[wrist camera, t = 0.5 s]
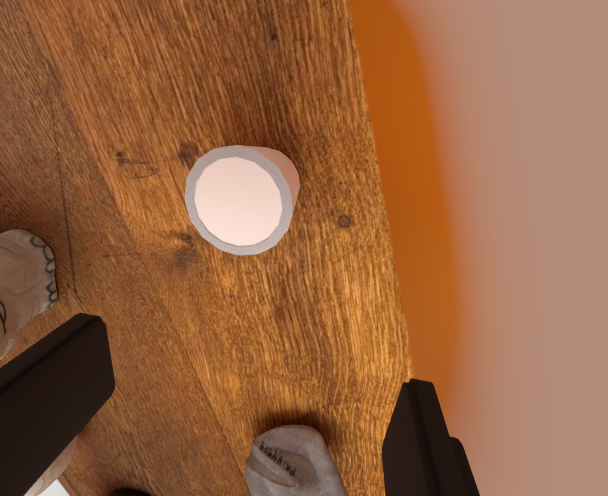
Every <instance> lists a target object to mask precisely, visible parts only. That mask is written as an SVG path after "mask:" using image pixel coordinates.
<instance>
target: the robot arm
mask: <svg viewBox="0 0 608 496" xmlns="http://www.w3.org/2000/svg"><path fill="white" fill-rule="evenodd" d="M114 389H115V380H114V373H113V367H112V361H111V354H110V348H109V342H108V336H107V329H106V325H105V323H104V322H103V321H102V318H101V317H99V316H94V315H89V314H84V313H79V314H77V315H75V316H73V317H72V318H71V319H69V320H68V321H66V322H65V323H63V324H62V325H61V326H59V327H58V328H56V329H55V330H54V331H52V332H51V333H49V334H48V335H46V336H45V337H44V338H42V339H41V340H39V341H38V342H37V343H35V344H34V345H32V346H31V347H30V348H28V349H27V350H25V351H24V352H22V353H21V354H20V355H18V356H17V357H15V358H14V359H13V360H11V361H10V362H8V363H7V364H5V365H4V366H3V367H1V368H0V496H24V495H25V494H26V493H27V492H28V491H29V489H30V488H31V487H32V486H33V485H34V484H35V483H36V481H37V480H38V479H39V478H40V477H41V476H42V475H43V473H44V472H45V471H46V470H47V469H48V468H49V467H50V465H51V464H52V463H53V462H54V461H55V460H56V458H57V457H58V456H59V455H60V454H61V453H62V452H63V450H64V449H65V448H66V447H67V446H68V445H69V444H70V442H71V441H72V440H73V439H74V438H75V437H76V436H77V434H78V433H79V432H80V431H81V430H82V429H83V428H84V426H85V425H86V424H87V423H88V422H89V421H90V419H91V418H92V417H93V416H94V415H95V414H96V413H97V411H98V410H99V409H100V408H101V407H102V406H103V405H104V403H105V402H106V401H107V400H108V399H109V398H110V396H111V395H112V393H113V391H114ZM382 461H383V472H384V483H385V494H386V496H480V494H479V491H478V489H477V486H476V483H475V480H474V477H473V474H472V471H471V468H470V465H469V462H468V460H467V456H466V454H465V450H464V448H463V446H462V443H461V442H460V441H459V439H457V438H454V437H450V436H449V433H448V430H447V427H446V424H445V420H444V417H443V414H442V410H441V407H440V404H439V401H438V398H437V394H436V391H435V388H434V385H433V383H431V382H427V381H422V380H417V379H410V381H409V383H406V382H404V383H403V384H402V387H401V390H400V393H399V396H398V399H397V402H396V405H395V408H394V411H393V414H392V417H391V420H390V423H389V426H388V429H387V432H386V435H385V438H384V441H383V446H382Z"/></svg>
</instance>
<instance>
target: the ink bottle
mask: <svg viewBox="0 0 608 496" xmlns="http://www.w3.org/2000/svg"><path fill="white" fill-rule="evenodd" d="M109 496H145V495H143V494H141V493H137V492H134V491H128V490H118V491H114V492H112V493H111V494H110V495H109Z"/></svg>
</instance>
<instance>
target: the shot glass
mask: <svg viewBox="0 0 608 496" xmlns="http://www.w3.org/2000/svg"><path fill="white" fill-rule="evenodd" d="M299 189H300V182H299V175H298V172H297V170H296V168H295V166H294V164H293V163H292V161H291V160H290V159H289V158H288V157H286V156H285V155H284V154H283V153H281V152H280V151H277V150H274V149H270V148H267V147H254V146H241V145H234V146H227V147H220V148H214V149H213V150H211V151H210V152H208V153H207V154H205V155H204V156H202V157H201V158H199V159H198V160H197V161H196V163H195V164H194V166H193V168H192V170H191V171H190V173H189V175H188V176H187V180H186V189H185V198H184V199H185V203H186V206H187V210H188V214H189V217H190V220H191V222H192V223H193V224H194V226H195V227H196V229H197V230H198V232H199V233H200V235H201V236H202V237H203V238H204V239H206V240H207V241H208V242H210V243H211V244H212V245H214V246H215V247H216V248H218V249H219V250H222V251H226V252H229V253H232V254H236V255H252V254H259V253H261V252H263V251H265V250H267V249H269V248H271V247H273V246H275V245H276V244H277V243H278V242H279V240H280V239H281V238H282V237H283V235H284V234H285V233H286V232H287V230H288V228H289V224H290V221H291V218H292V214H293V211H294V207H295V204H296V201H297V197H298V193H299Z"/></svg>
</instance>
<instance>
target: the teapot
mask: <svg viewBox="0 0 608 496" xmlns="http://www.w3.org/2000/svg"><path fill="white" fill-rule="evenodd" d="M54 268H55V261H54V256H53V253H52V251H51V249H50V248H49V247H48V246H47V245H46V244H45V243H44V242H43V241H42V240H41V239H40V238H38V237H37V236H35V235H33V234H31V233H29V232H27V231H25V230H21V229H13V230H9V231H6V232H3V233H1V234H0V360H1V359H2V358H3V357H4V355H5V354H6V353H7V352H8V351H9V350H10V348H11V347H12V346H13V345H14V343H15V341H16V340H17V330H19V329H20V328H22V327H23V326H24V325H25V324H27V323H28V322H29V321H30V320H31V318H32V317H33V316H35V315H37V314H39V313H41V312H43V311H45V310H47V309H49V308H50V307H52V306H53V305H54V304H55V303H56V302H57V290H56V284H55V278H54Z"/></svg>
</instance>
